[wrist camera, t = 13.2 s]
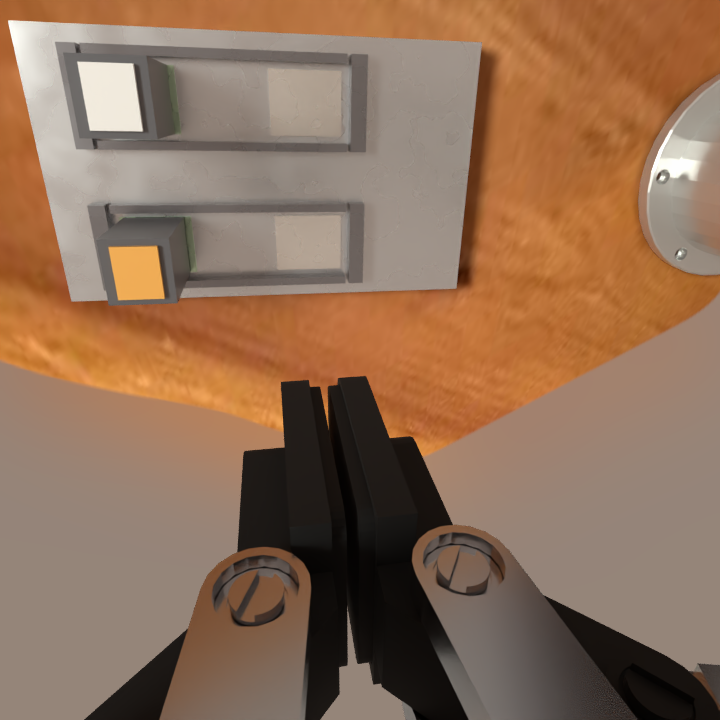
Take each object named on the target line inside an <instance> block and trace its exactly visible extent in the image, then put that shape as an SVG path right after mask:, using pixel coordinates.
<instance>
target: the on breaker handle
mask: <svg viewBox="0 0 720 720" xmlns="http://www.w3.org/2000/svg"><path fill="white" fill-rule="evenodd" d="M63 55H64V60H65V66H66V71H67V76H68V81H69V86H70V91H71V97H72V102H73V107H74V112H75V117H76V122H77V128H78V133H79V138H86V139H161V138H164V137H167V136H171V135H174V134H175V130H174V122H173V114H172V106H171V97H170V89H169V81H168V72H167V65H166V64H164V63H162V62H159V61H157V60H155V59H153V58H151V57H148V56H146V55H119V54H93V53H67V52H63Z"/></svg>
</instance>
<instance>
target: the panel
mask: <svg viewBox="0 0 720 720" xmlns="http://www.w3.org/2000/svg"><path fill="white" fill-rule="evenodd" d="M8 23H9V28H10V32H11V37H12V41H13V45H14V50H15V54H16V59H17V63H18V67H19V72H20V76H21V81H22V85H23V89H24V94H25V98H26V103H27V107H28V111H29V116H30V120H31V125H32V129H33V133H34V138H35V142H36V147H37V151H38V155H39V160H40V164H41V169H42V173H43V177H44V182H45V186H46V191H47V195H48V199H49V204H50V208H51V213H52V217H53V221H54V226H55V230H56V235H57V239H58V243H59V248H60V252H61V257H62V261H63V265H64V270H65V274H66V279H67V283H68V287H69V292H70V296H71V301H99V300H108V299H107V293H106V288H105V283H104V278H103V273H102V268H101V263H100V258H99V253H98V247H97V242H96V239H97V238H99V237H100V236H101V235H102V234H104V233H105V232H106V231H107V230H109V229H110V228H111V227H112V226H114V225H115V224H116V223H117V222H119V221H120V220H121V219H122V218H166V217H184V224H185V233H186V241H187V249H188V257H189V266H190V275H189V277H188V280H187V282H186V284H185V287H184V289H183V292H182V294H181V296H180V298H189V297H220V296H250V295H280V294H310V293H340V292H370V291H400V290H430V289H456V287H457V277H458V268H459V258H460V248H461V239H462V229H463V220H464V210H465V200H466V191H467V181H468V172H469V162H470V152H471V143H472V133H473V124H474V114H475V104H476V95H477V85H478V76H479V66H480V57H481V47H482V42H461V41H440V40H418V39H397V38H375V37H354V36H332V35H310V34H289V33H267V32H246V31H224V30H202V29H181V28H159V27H138V26H116V25H95V24H73V23H51V22H30V21H8ZM63 52H67V53H93V54H119V55H146V56H148V57H151V58H153V59H155V60H157V61H159V62H162V63H164V64H166V65H167V72H168V81H169V89H170V97H171V106H172V114H173V122H174V130H175V134H174V135H171V136H167V137H164V138H161V139H86V138H79V133H78V128H77V122H76V117H75V112H74V107H73V102H72V97H71V91H70V86H69V81H68V76H67V71H66V66H65V60H64V55H63Z"/></svg>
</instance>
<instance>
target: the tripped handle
mask: <svg viewBox="0 0 720 720" xmlns="http://www.w3.org/2000/svg"><path fill="white" fill-rule="evenodd" d="M96 242H97V247H98V253H99V258H100V263H101V268H102V273H103V278H104V283H105V288H106V293H107V299H108V304H109V306H110V305H139V304H168V303H178V301H179V299H180V296H181V294H182V292H183V289H184V287H185V284H186V282H187V280H188V277H189V275H190V266H189V257H188V249H187V241H186V233H185V224H184V217H166V218H122V219H121V220H120V221H119V222H117V223H116V224H115V225H114V226H112V227H111V228H110V229H109V230H107V231H106V232H105V233H104V234H102V235H101V236H100V237H99V238H97V239H96Z"/></svg>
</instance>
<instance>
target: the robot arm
mask: <svg viewBox="0 0 720 720" xmlns="http://www.w3.org/2000/svg"><path fill="white" fill-rule="evenodd" d="M638 206H639V219H640V223H641V227H642V231H643V235H644V236H645V238H646V240H647V242H648V244H649V246H650V248H651V249H652V250H653V251H654V252H655V254H656V255H657V256H658V257H659V258H660V259H661V260H663V261H664V262H666V263H667V264H669V265H671V266H672V267H675V268H677V269H680V270H682V271H685V272H687V273H692V274H698V275H719V274H720V74H718V75H717V76H715V77H714V78H712V79H710V80H709V81H707V82H706V83H704V84H703V85H701V86H700V87H699V88H697V89H696V90H695V91H694V92H693V93H692V94H691V95H690V96H689V97H687V98H686V99H685V100H684V101H683V102H682V103H681V104H680V106H679V107H678V108H677V109H676V110H675V112H674V113H673V114H672V115H671V116H670V118H669V119H668V120H667V122H666V123H665V125H664V126H663V128H662V130H661V131H660V133H659V134H658V136H657V138H656V139H655V141H654V144H653V146H652V148H651V150H650V153H649V155H648V157H647V159H646V163H645V166H644V170H643V173H642V177H641V180H640V189H639V198H638ZM281 392H282V409H283V426H284V442H285V448H274V449H263V450H252V451H245V452H244V455H243V470H242V486H241V487H242V488H241V503H240V519H239V536H238V551H237V553H235V554H232V555H231V556H229V557H228V558H226V559H225V560H223V561H221V562H220V563H218V565H217V566H216V567H215V568H214V569H213V570H212V571H211V572H210V573H209V574H208V575H207V577H206V579H205V581H204V583H203V585H202V587H201V589H200V593H199V596H198V599H197V602H196V605H195V608H194V611H193V615H192V618H191V621H190V624H189V627H188V629H187V630H186V631H185V632H183V633H182V634H181V635H180V636H179V637H178V638H177V639H175V640H174V641H173V642H172V643H171V644H170V645H169V646H167V647H166V648H165V649H164V650H163V651H162V652H161V653H160V654H158V655H157V656H156V657H155V658H154V659H153V660H152V661H150V662H149V663H148V664H147V665H146V666H145V667H144V668H142V669H141V670H140V671H139V672H138V673H137V674H136V675H134V676H133V677H132V678H131V679H130V680H129V681H128V682H126V683H125V684H124V685H123V686H122V687H121V688H120V689H119V690H117V691H116V692H115V693H114V694H113V695H112V696H111V697H110V698H108V699H107V700H106V701H105V702H104V703H103V704H101V705H100V706H99V707H98V708H97V709H96V710H95V711H94V712H93V713H91V714H90V715H89V716H88V717H87V718H86V719H84V720H320V719H321V718H322V716H323V715H324V714H325V712H326V711H327V710H328V708H329V707H330V706H331V704H332V703H333V702H334V700H335V699H336V698H337V696H338V695H339V667H341V666H347V662H348V658H347V655H348V654H347V606H348V612H349V618H350V624H351V630H352V636H353V642H354V648H355V654H356V659H357V663H358V664H362V663H368V662H369V664H370V670H371V675H372V681H373V684H380V683H381V685H382V687H383V688H384V689H386V690H387V691H389V692H390V693H391V694H393V695H394V696H396V697H397V698H398V699H400V700H401V701H402V706H403V711H404V715H405V719H406V720H720V665H711V664H699V663H698V664H697V666H696V668H695V670H694V672H693V671H688V670H687V669H685V668H684V667H683V666H681V665H680V664H678V663H676V662H675V661H673V660H672V659H670V658H668V657H667V656H665V655H663V654H661V653H659V652H657V651H655V650H653V649H651V648H649V647H647V646H645V645H643V644H641V643H639V642H637V641H635V640H633V639H631V638H629V637H627V636H625V635H623V634H621V633H619V632H617V631H615V630H613V629H611V628H609V627H607V626H605V625H603V624H600V623H599V622H596V621H595V620H593V619H591V618H589V617H587V616H585V615H583V614H581V613H579V612H576V611H574V610H572V609H570V608H568V607H566V606H564V605H562V604H560V603H558V602H556V601H554V600H552V599H550V598H548V597H546V596H544V595H543V594H542V593H541V592H540V590H539V589H538V588H537V587H536V585H535V584H534V582H533V581H532V580H531V578H530V577H529V576H528V574H527V573H526V572H525V571H524V569H523V568H522V567H521V565H520V564H519V563H518V561H517V560H516V559H515V557H514V556H513V555H512V553H510V551H509V550H508V549H507V548H506V547H505V546H504V545H503V544H502V543H501V542H500V541H499V540H498V539H497V538H495V537H493V536H492V535H490V534H488V533H487V532H485V531H482V530H479V529H476V528H473V527H470V526H462V525H453V524H452V522H451V520H450V517H449V515H448V513H447V511H446V509H445V506H444V504H443V502H442V500H441V497H440V495H439V493H438V491H437V489H436V486H435V484H434V482H433V480H432V478H431V475H430V473H429V471H428V469H427V467H426V464H425V462H424V460H423V458H422V455H421V453H420V451H419V449H418V446H417V444H416V442H415V440H414V439H413V437H410V436H409V437H398V438H389V435H388V433H387V430H386V428H385V425H384V422H383V420H382V417H381V414H380V412H379V409H378V406H377V404H376V401H375V398H374V396H373V393H372V390H371V388H370V385H369V382H368V380H367V378H366V376H360V377H346V378H338V385H334V386H328V421H329V430H328V425H327V420H326V414H325V409H324V404H323V399H322V394H321V389H320V387H310V386H309V380H303V381H289V382H281Z"/></svg>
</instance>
